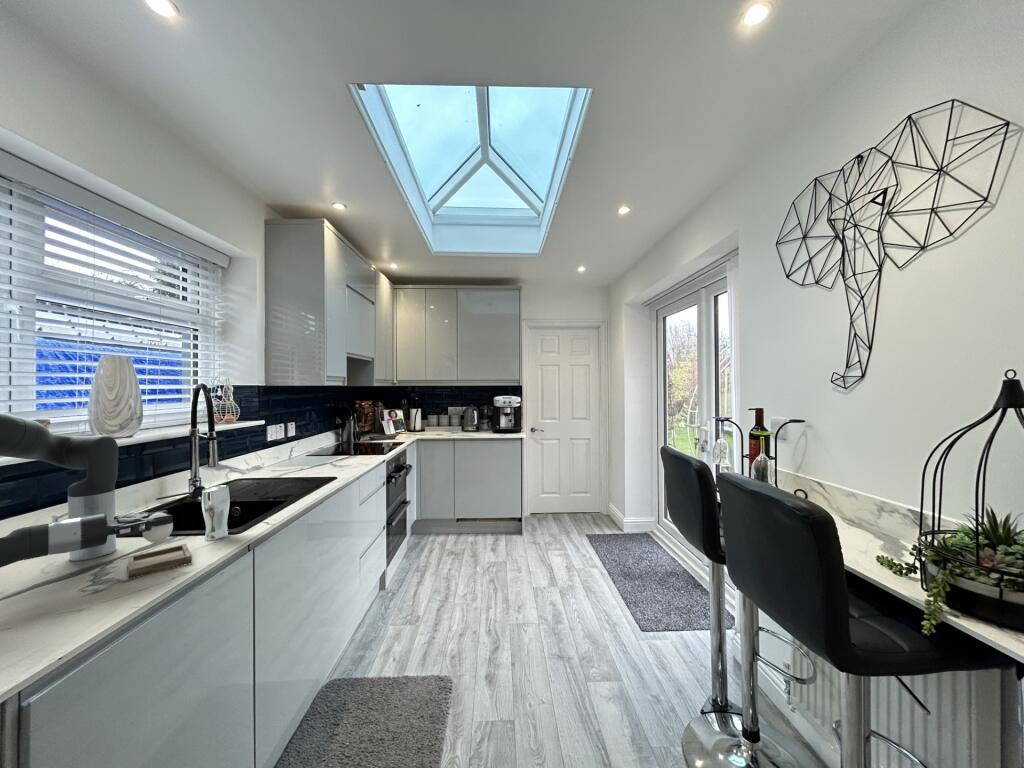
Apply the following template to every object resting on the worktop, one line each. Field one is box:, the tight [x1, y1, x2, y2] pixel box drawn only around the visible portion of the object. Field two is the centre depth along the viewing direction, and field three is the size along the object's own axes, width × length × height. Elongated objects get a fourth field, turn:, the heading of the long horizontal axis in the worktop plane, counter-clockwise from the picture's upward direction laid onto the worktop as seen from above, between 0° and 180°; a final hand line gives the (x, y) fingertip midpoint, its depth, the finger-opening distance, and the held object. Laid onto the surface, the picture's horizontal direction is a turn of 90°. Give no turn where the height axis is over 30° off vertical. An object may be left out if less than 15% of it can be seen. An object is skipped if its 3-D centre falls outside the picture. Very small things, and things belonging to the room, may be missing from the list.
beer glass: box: [201, 485, 231, 541], centre depth 126 cm, size 7×7×15 cm
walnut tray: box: [127, 543, 192, 580], centre depth 107 cm, size 12×12×2 cm
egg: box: [141, 513, 174, 544], centre depth 107 cm, size 6×6×8 cm
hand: (169, 516), depth 109 cm, fingers closed on egg, 5 cm apart
